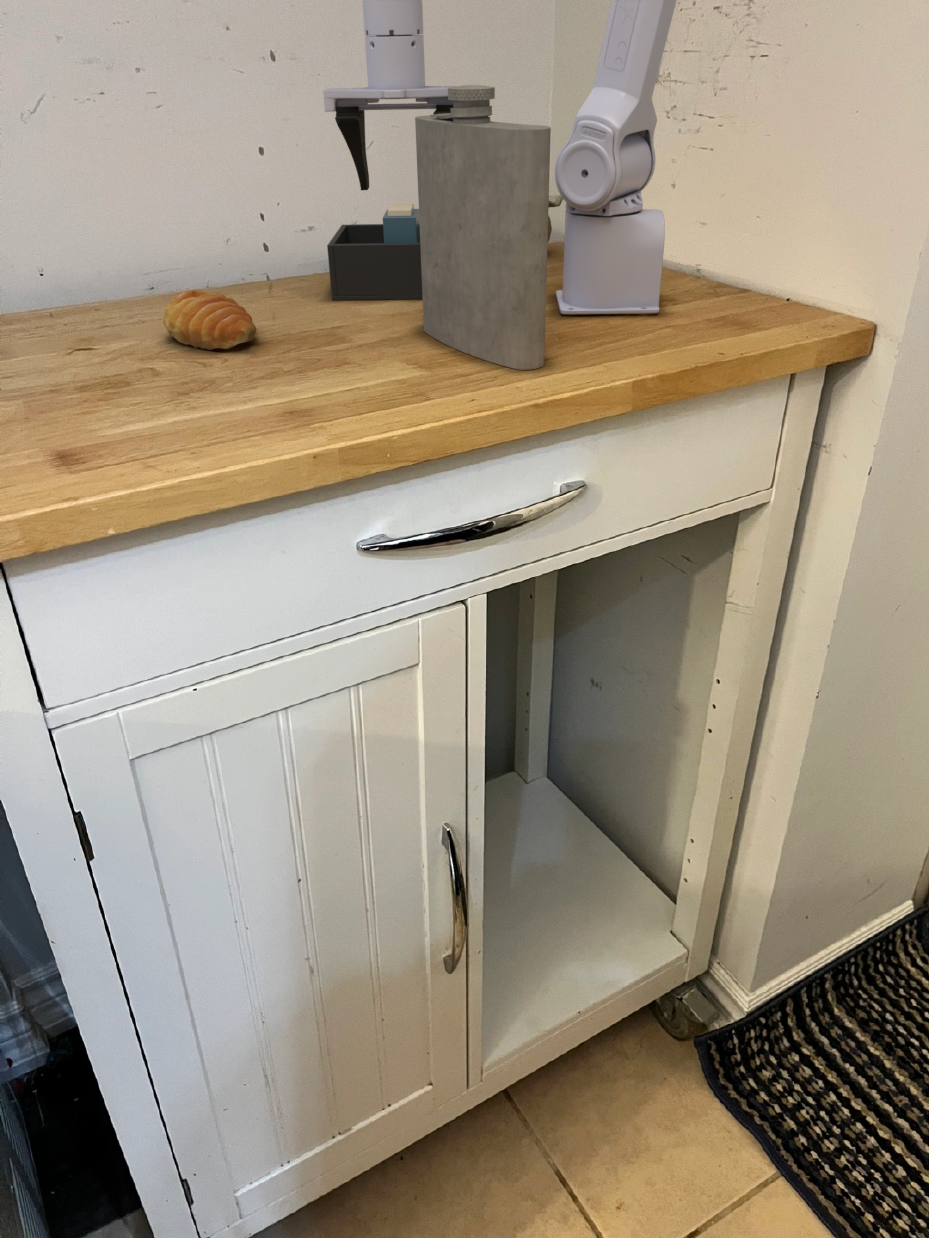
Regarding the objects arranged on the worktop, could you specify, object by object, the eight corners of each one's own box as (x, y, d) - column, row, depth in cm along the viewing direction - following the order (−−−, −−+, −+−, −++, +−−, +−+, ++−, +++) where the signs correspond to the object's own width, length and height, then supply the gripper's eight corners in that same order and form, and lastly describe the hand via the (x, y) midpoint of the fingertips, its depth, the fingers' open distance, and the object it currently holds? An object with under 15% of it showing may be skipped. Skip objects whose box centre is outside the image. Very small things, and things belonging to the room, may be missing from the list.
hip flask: (552, 365, 78) (560, 88, 67) (512, 374, 76) (515, 91, 65) (445, 323, 89) (438, 80, 78) (409, 331, 87) (396, 82, 76)
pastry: (277, 342, 84) (271, 299, 82) (212, 360, 81) (204, 315, 78) (220, 323, 90) (214, 282, 88) (157, 339, 86) (148, 296, 84)
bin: (470, 273, 106) (470, 222, 103) (469, 298, 97) (468, 243, 94) (345, 275, 106) (341, 224, 103) (332, 300, 97) (327, 245, 94)
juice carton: (421, 277, 103) (418, 202, 99) (418, 288, 99) (415, 210, 95) (390, 277, 103) (386, 203, 99) (386, 288, 99) (382, 211, 95)
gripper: (313, 38, 88) (327, 195, 95) (468, 35, 88) (470, 193, 95) (324, 37, 94) (336, 185, 101) (469, 34, 94) (470, 183, 101)
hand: (401, 188), depth 98 cm, fingers open, 7 cm apart
